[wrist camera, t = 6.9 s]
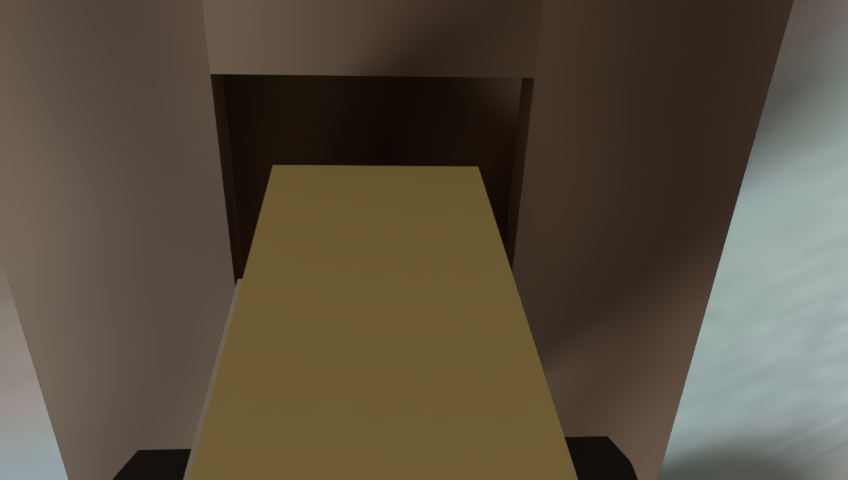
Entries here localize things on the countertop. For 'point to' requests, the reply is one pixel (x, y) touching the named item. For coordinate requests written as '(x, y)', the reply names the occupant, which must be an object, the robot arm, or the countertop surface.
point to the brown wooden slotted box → (368, 146)
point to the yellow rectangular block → (379, 339)
